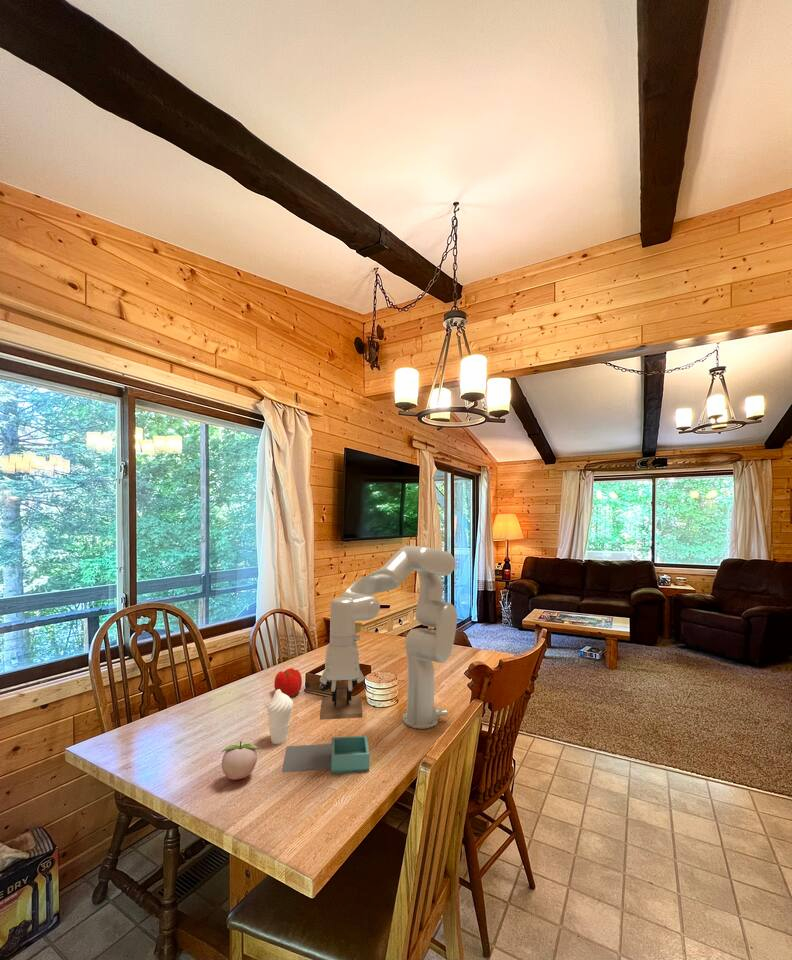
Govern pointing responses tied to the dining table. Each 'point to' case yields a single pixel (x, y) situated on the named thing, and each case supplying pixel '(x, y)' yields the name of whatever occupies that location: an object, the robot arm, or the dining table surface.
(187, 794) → the dining table surface
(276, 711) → the soft serve ice cream cone
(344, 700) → the lid
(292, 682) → the tomato
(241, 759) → the decorative fruit
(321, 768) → the mat
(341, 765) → the open box
